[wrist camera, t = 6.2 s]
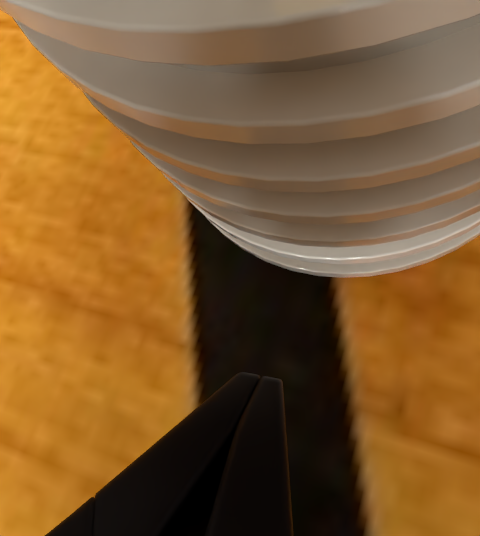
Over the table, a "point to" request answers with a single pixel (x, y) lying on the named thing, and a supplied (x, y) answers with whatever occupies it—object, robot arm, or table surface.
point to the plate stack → (292, 116)
